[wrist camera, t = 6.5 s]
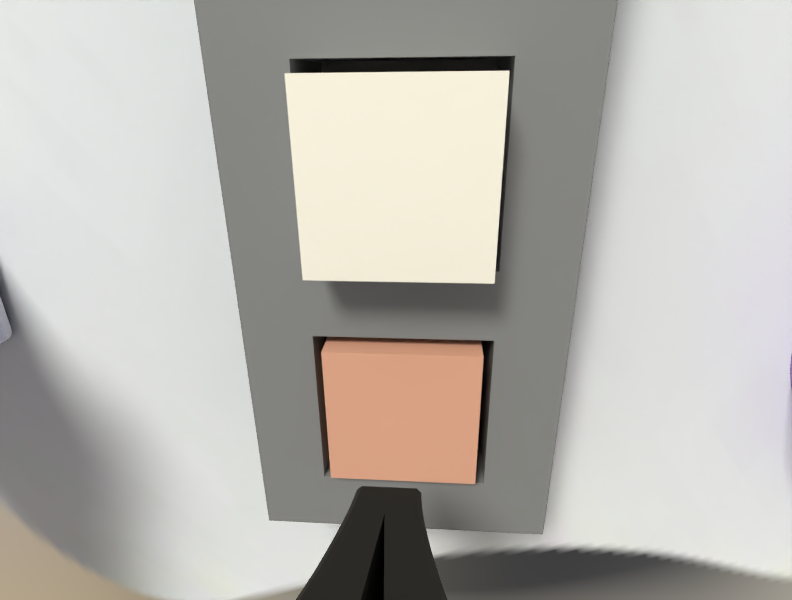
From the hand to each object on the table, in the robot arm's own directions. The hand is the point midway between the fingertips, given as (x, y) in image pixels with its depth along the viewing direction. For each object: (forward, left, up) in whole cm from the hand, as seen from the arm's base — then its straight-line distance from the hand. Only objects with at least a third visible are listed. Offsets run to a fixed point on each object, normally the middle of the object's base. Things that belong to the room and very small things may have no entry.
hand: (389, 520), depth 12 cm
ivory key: (0, +7, -5) cm, 9 cm away
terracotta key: (0, 0, -7) cm, 7 cm away
